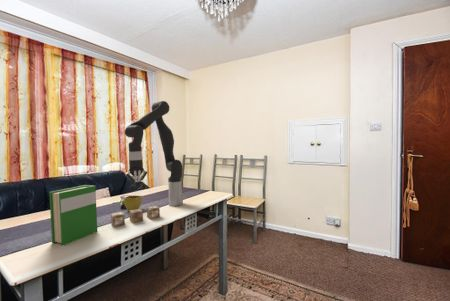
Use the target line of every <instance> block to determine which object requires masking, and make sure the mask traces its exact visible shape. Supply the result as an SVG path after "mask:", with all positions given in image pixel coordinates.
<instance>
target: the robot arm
mask: <svg viewBox="0 0 450 301" xmlns="http://www.w3.org/2000/svg"><path fill="white" fill-rule="evenodd" d="M150 108H151V111H149V112H148V113H146V114H144V115H142V116H141V117H140V118H138V120H136V121H134V122H132V123H130V124H129V125H126V128H125V130H124V134H125V136H126V137H128V138H133V140H131V141H130V142H128V164H129V165H128V166H129V167H128V168H129V169H128V172H126V173H125V174H124V175H125V177H127V178H128V179H129V180H130V182H134V183H133V184H134V188H135V189H139V188H140V187H141V181H143V180H144V179H145V177H146V176H147V174H148V171H146V170H145V169H144V165H143V164H144V163H143V158H144V157H143V152H142V142H143V138H144V131H145V130H147V129H148V128H149V126H151V125H152V124H153V123H156V127H157V131H158V135H159V140H160V143H161V147H162V152H163V154H164V155H163V156H164V162H165V168H166V170H167V171H168V172H170V176H169V177H168V179H167V180H168V184H167V185H168V205H169V206H170V207H177V206H178V207H179V206H181V205H183V204H184V198H183V197H184V194H183V193H184V192H183V191H182V178H183V163H182V162H181V160H179V159H176V158H175V155H174V145H175V139H174V138H175V137H174V134H173V132H172V130H171V129H170V127H169V126H168V125H167V124H166V123H165V120H164V118H163V116H165V115H166V114H168V113H169V111H170V105H169V103H168V102H167V101H165V100H161V101H156V102H153V103H152V104H151V107H150Z"/></svg>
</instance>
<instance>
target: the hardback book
mask: <svg viewBox="0 0 450 301" xmlns="http://www.w3.org/2000/svg"><path fill="white" fill-rule="evenodd" d="M96 187H97V186H96V185H93V184H92V185H89V184H83V185H79V186H73V187H70V188H69V187H67V188H64V189H63V188H62V189H59V190H53V191H49V194H48V195H49V208H50V210H49V211H50V212H49V213H50V228H51V244H52V243H54V244H57V243H58V244H61V245H64V246H66V245H68V244H70V242H71V243H73V242H75V240H76V241H78V240H81V239H83V238H85V237H88V236H89V235H92V234H95V233H97V232H98V220H97V219H98V218H97V217H98V214H97V213H98V212H97V191H96ZM82 237H83V238H82ZM77 239H78V240H77ZM72 241H73V242H72ZM56 242H57V243H56ZM67 243H68V244H67ZM65 244H66V245H65Z"/></svg>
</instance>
